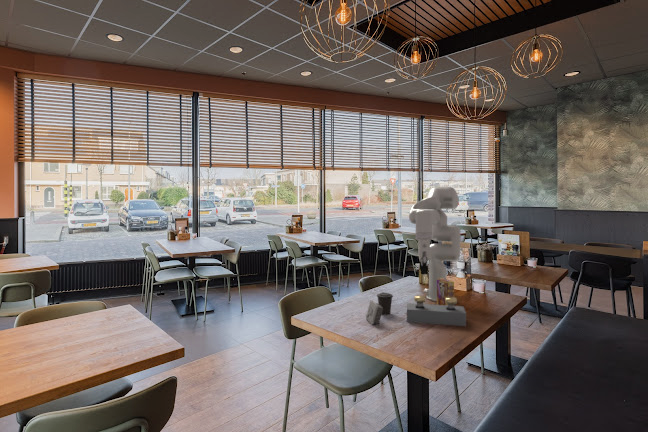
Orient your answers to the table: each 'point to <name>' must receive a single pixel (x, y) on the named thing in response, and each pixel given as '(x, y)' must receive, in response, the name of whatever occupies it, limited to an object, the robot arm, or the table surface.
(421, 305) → the knob
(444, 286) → the candy box
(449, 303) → the knob
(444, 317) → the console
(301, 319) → the table surface
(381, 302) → the coffee cup
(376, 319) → the electrical switch
